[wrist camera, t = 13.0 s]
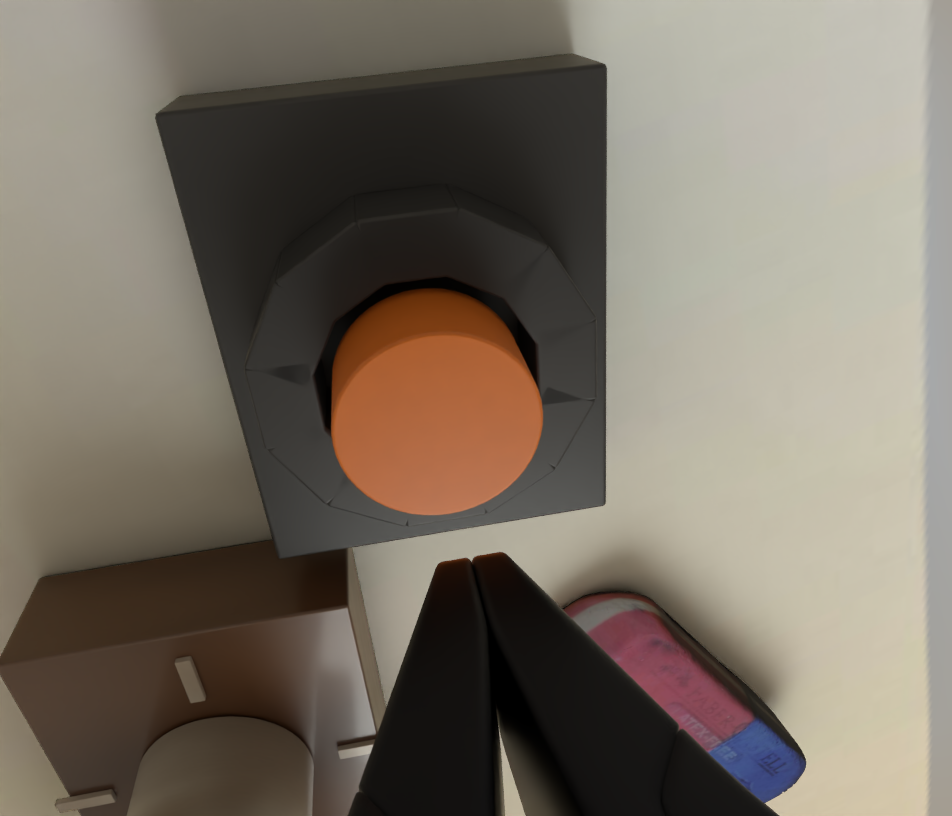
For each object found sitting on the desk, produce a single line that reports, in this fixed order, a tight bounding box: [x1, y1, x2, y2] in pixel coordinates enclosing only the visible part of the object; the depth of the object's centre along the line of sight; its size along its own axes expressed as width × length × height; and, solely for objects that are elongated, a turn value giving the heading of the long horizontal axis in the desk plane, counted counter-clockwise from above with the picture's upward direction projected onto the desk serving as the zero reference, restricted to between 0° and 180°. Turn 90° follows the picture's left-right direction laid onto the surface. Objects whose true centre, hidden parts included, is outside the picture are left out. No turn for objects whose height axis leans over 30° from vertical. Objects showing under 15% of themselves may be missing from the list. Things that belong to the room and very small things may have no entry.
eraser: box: [563, 592, 806, 803], centre depth 25 cm, size 11×4×2 cm, turn 41°
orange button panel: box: [155, 54, 607, 559], centre depth 16 cm, size 10×8×4 cm
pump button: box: [331, 288, 543, 515], centre depth 14 cm, size 4×4×2 cm
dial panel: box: [0, 540, 386, 816], centre depth 21 cm, size 10×9×3 cm
